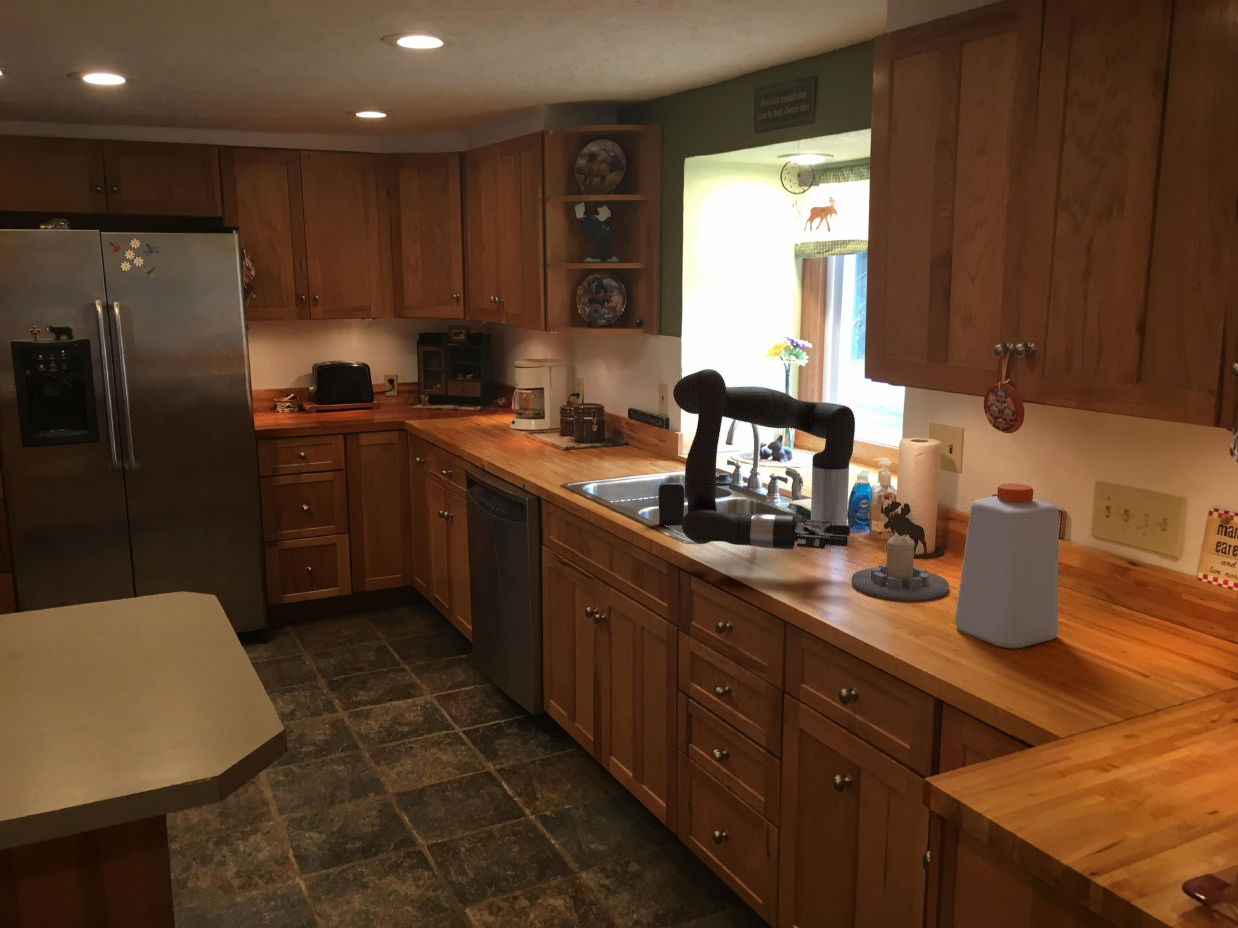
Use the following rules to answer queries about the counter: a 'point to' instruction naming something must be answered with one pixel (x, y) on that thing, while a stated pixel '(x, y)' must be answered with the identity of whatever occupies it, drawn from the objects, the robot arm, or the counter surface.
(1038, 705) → the counter surface
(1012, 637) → the plastic bottle
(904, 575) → the candle
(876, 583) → the candle dish
